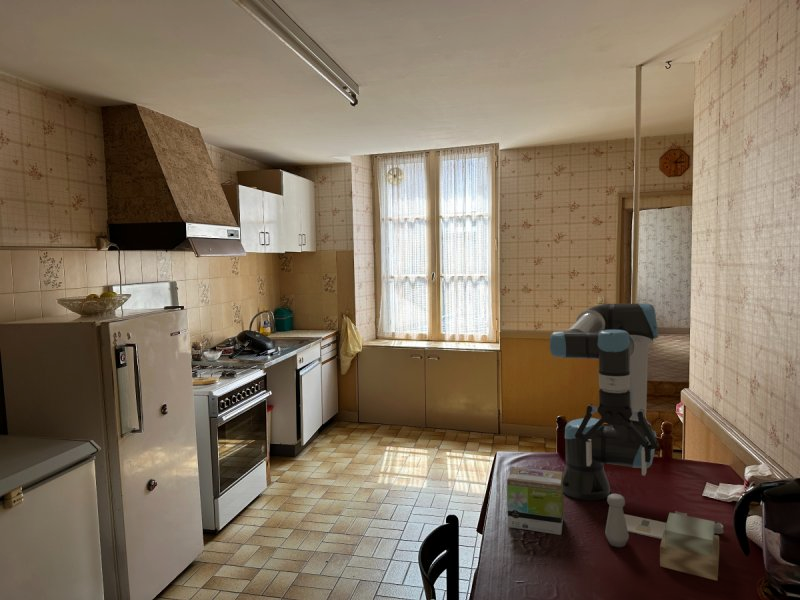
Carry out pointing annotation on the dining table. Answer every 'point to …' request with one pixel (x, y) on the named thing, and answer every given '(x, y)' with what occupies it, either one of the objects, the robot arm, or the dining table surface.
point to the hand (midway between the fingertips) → (615, 469)
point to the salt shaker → (616, 521)
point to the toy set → (717, 526)
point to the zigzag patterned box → (690, 546)
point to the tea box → (535, 500)
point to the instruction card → (644, 526)
